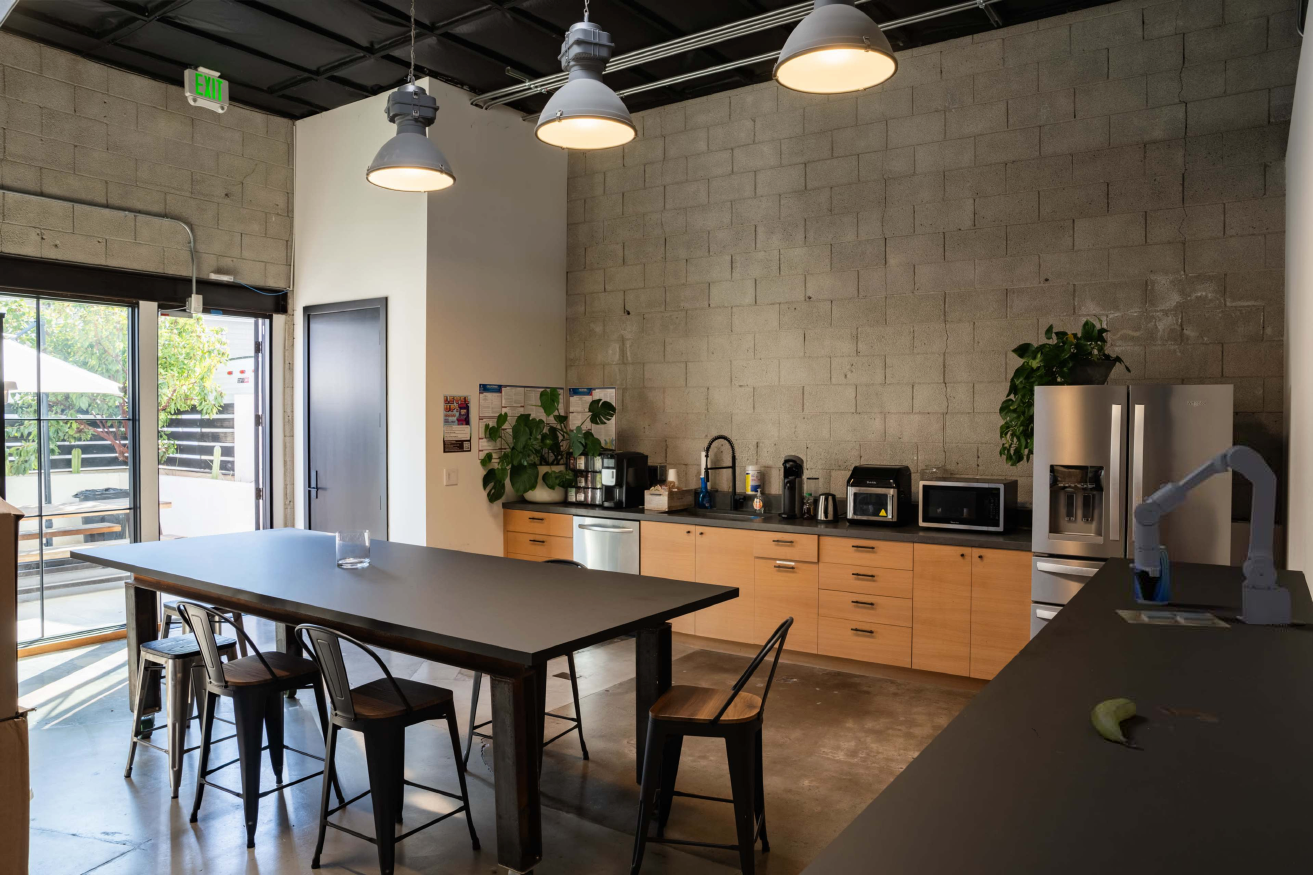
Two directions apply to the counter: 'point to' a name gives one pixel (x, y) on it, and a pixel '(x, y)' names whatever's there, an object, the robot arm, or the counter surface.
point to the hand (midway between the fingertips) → (1147, 599)
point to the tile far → (1158, 616)
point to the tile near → (1194, 618)
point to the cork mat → (1137, 618)
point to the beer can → (1163, 585)
